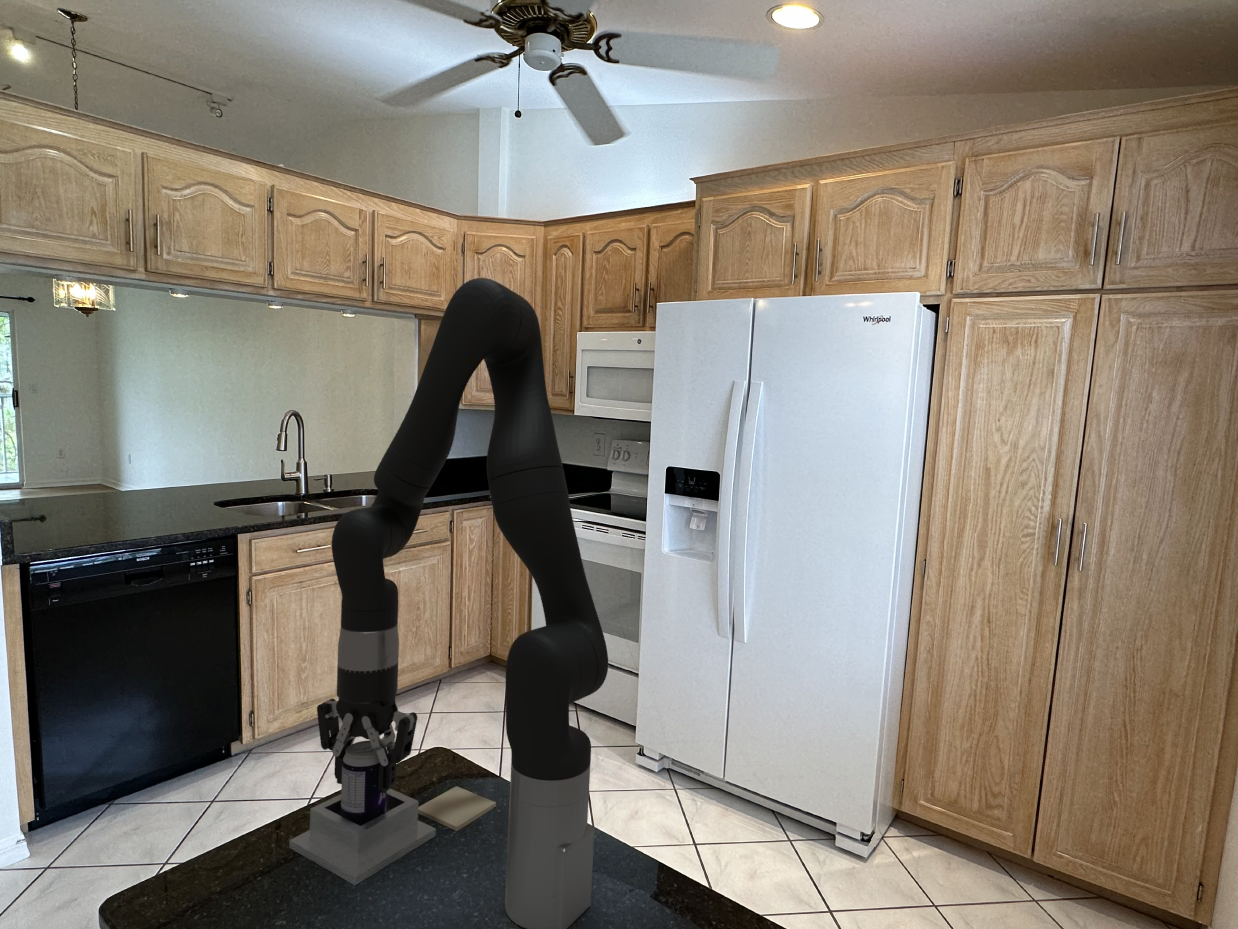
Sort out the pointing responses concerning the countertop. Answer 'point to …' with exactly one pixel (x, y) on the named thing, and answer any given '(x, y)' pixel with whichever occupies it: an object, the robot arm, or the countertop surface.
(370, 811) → the beverage can
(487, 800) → the birch pad
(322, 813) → the sleeve
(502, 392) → the robot arm
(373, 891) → the countertop surface
